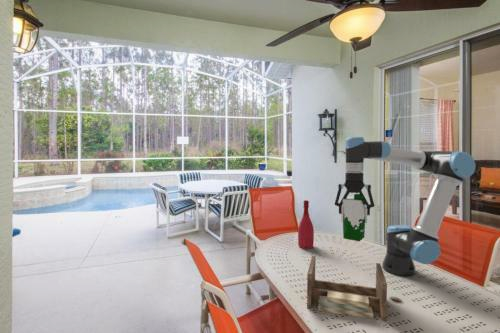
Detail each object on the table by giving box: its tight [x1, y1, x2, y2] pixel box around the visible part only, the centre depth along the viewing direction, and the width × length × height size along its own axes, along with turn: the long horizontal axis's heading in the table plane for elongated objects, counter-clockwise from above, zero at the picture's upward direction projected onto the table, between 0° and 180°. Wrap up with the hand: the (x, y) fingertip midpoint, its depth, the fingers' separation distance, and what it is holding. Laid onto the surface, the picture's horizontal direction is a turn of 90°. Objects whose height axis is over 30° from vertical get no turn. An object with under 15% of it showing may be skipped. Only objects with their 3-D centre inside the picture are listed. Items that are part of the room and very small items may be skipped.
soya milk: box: [342, 193, 366, 242], centre depth 126 cm, size 9×9×20 cm
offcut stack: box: [317, 290, 374, 319], centre depth 109 cm, size 20×6×6 cm, turn 75°
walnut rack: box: [306, 255, 388, 322], centre depth 116 cm, size 28×19×14 cm, turn 72°
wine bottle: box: [297, 199, 315, 250], centre depth 179 cm, size 10×10×30 cm
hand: (353, 221), depth 126 cm, fingers closed on soya milk, 9 cm apart
